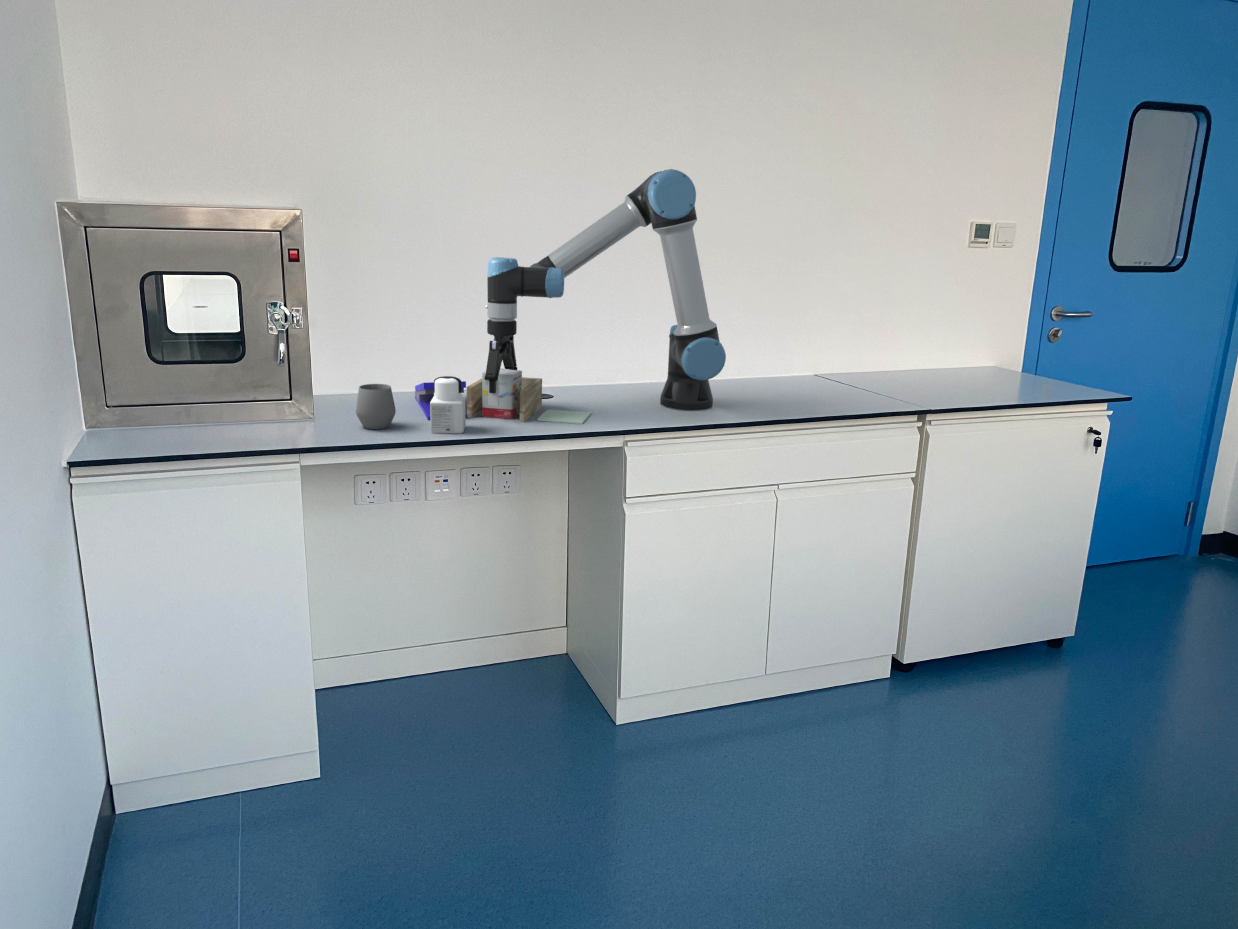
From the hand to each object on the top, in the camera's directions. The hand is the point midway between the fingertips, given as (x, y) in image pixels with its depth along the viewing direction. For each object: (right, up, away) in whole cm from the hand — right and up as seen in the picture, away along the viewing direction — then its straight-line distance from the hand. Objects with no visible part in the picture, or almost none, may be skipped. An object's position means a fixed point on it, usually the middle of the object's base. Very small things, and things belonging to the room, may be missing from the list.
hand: (501, 400), depth 232 cm
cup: (-29, -8, -16) cm, 34 cm away
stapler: (-17, -2, +6) cm, 19 cm away
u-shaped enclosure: (+1, -3, +4) cm, 5 cm away
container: (-11, -9, -16) cm, 21 cm away
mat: (+17, -5, +1) cm, 17 cm away
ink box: (0, -4, +1) cm, 4 cm away
